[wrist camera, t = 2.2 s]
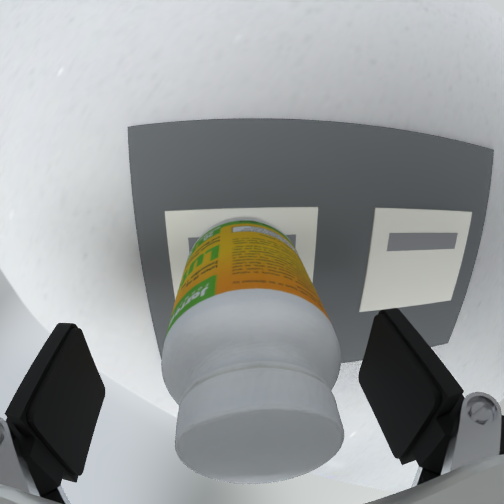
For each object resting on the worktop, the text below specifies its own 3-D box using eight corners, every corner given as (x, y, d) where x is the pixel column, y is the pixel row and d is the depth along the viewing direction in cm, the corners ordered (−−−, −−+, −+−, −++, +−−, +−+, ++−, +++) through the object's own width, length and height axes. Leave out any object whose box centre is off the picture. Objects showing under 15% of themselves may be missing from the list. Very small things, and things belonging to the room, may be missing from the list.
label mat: (491, 149, 13) (495, 150, 13) (446, 341, 19) (448, 343, 18) (128, 126, 12) (126, 126, 12) (164, 369, 17) (164, 373, 17)
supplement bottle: (208, 198, 13) (167, 351, 4) (316, 238, 14) (418, 397, 5) (174, 297, 15) (133, 473, 6) (271, 326, 16) (304, 495, 7)
